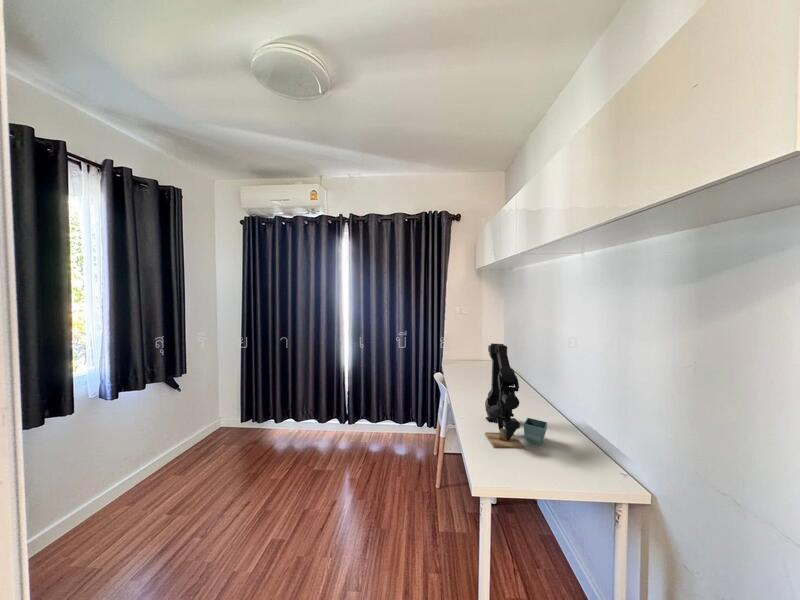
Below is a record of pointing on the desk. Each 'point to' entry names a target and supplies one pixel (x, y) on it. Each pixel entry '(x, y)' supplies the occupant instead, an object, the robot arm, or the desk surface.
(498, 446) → the lid
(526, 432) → the flower pot
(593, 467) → the desk surface
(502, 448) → the mat
